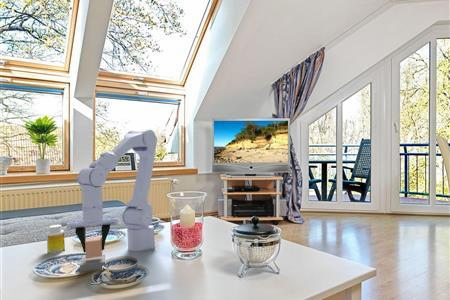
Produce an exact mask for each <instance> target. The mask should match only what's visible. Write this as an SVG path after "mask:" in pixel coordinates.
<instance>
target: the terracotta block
mask: <svg viewBox="0 0 450 300" xmlns="http://www.w3.org/2000/svg"><path fill="white" fill-rule="evenodd" d="M85 250H86V252H85V257H86V258H93V257H101V256H102V255H103V250H102V235H99V236H92V237H91V236H90V237H86V241H85Z"/></svg>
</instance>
